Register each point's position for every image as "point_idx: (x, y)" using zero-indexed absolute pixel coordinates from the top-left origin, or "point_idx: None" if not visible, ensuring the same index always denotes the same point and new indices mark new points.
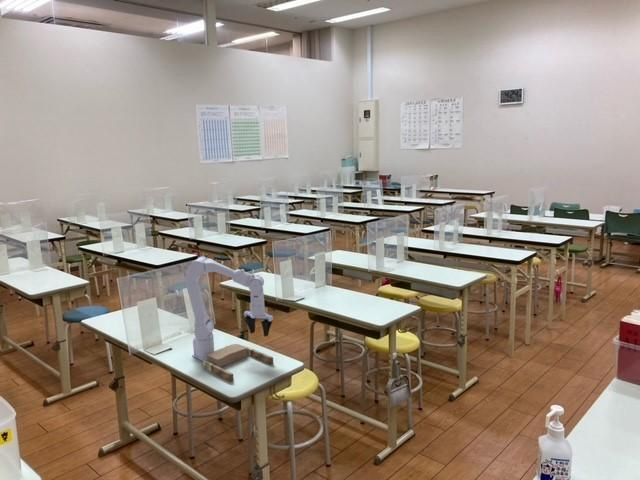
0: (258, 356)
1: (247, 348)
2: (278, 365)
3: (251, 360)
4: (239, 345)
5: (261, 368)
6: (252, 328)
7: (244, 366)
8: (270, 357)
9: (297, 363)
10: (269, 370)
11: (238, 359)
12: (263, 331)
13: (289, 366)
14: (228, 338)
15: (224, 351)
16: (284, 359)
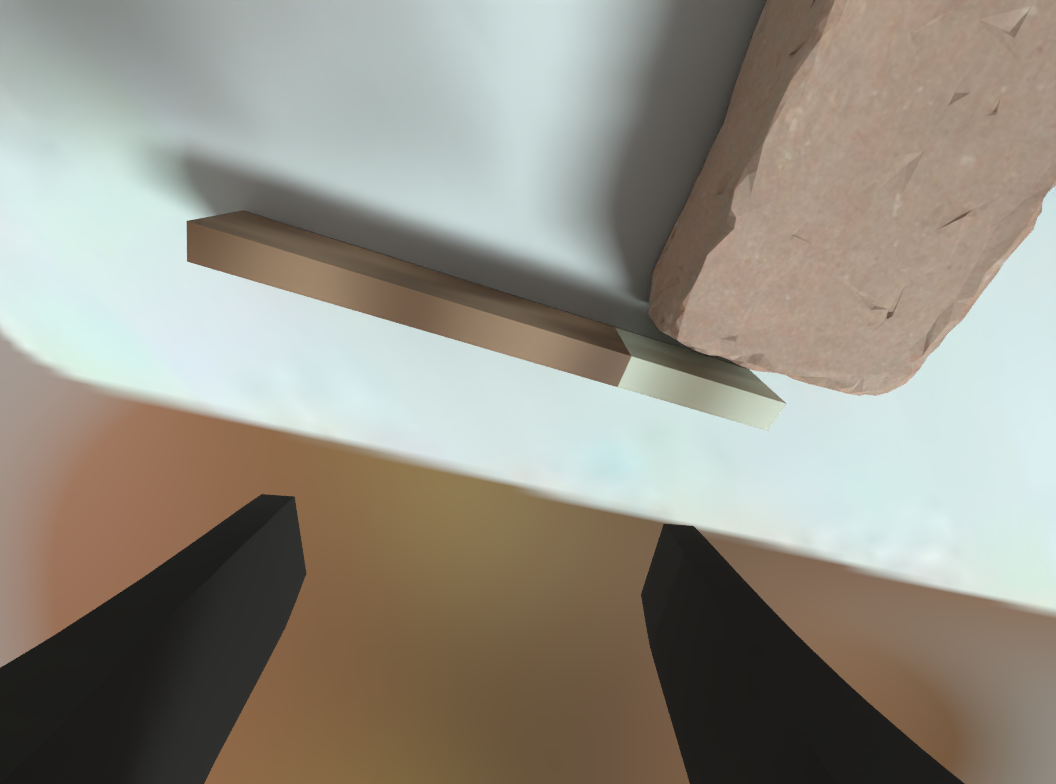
0: (476, 294)
1: (687, 373)
2: (163, 234)
3: (543, 230)
4: (818, 364)
5: (269, 55)
6: (693, 651)
7: (523, 10)
8: (214, 242)
9: (43, 359)
10: (127, 41)
11: (705, 165)
12: (201, 586)
13: (38, 261)
14: (1007, 565)
15: (1008, 35)
16: (235, 390)
